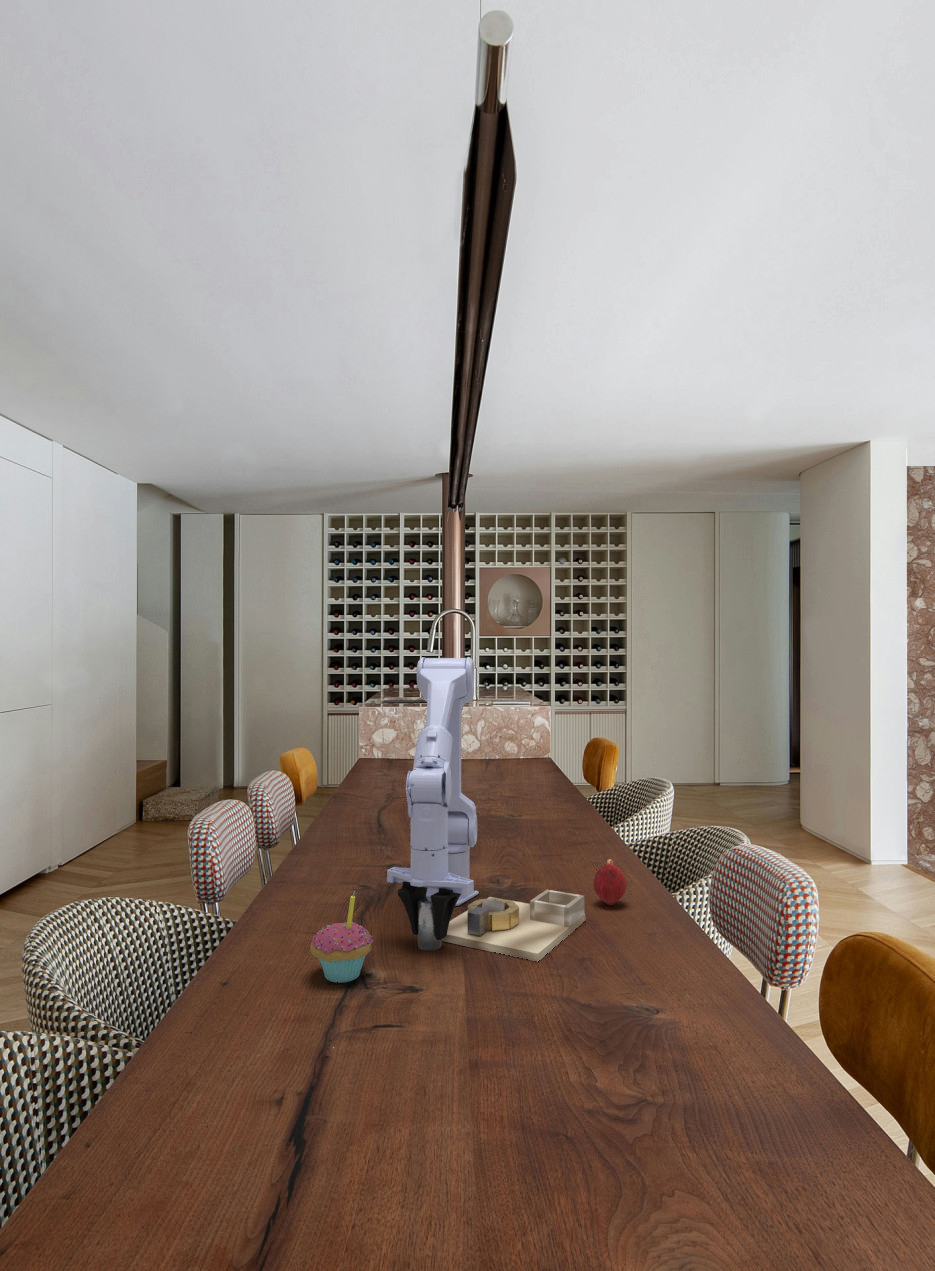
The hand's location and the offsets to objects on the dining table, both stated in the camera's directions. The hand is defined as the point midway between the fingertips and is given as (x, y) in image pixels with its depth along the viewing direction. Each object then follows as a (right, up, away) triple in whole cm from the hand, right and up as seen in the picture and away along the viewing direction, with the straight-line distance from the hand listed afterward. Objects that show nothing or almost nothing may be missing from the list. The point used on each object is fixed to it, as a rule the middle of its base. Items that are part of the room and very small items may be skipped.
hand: (429, 935), depth 117 cm
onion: (+31, -2, +18) cm, 36 cm away
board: (+13, -2, +6) cm, 15 cm away
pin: (0, -2, 0) cm, 2 cm away
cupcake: (-12, -2, -11) cm, 16 cm away
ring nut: (+9, 0, +5) cm, 11 cm away
